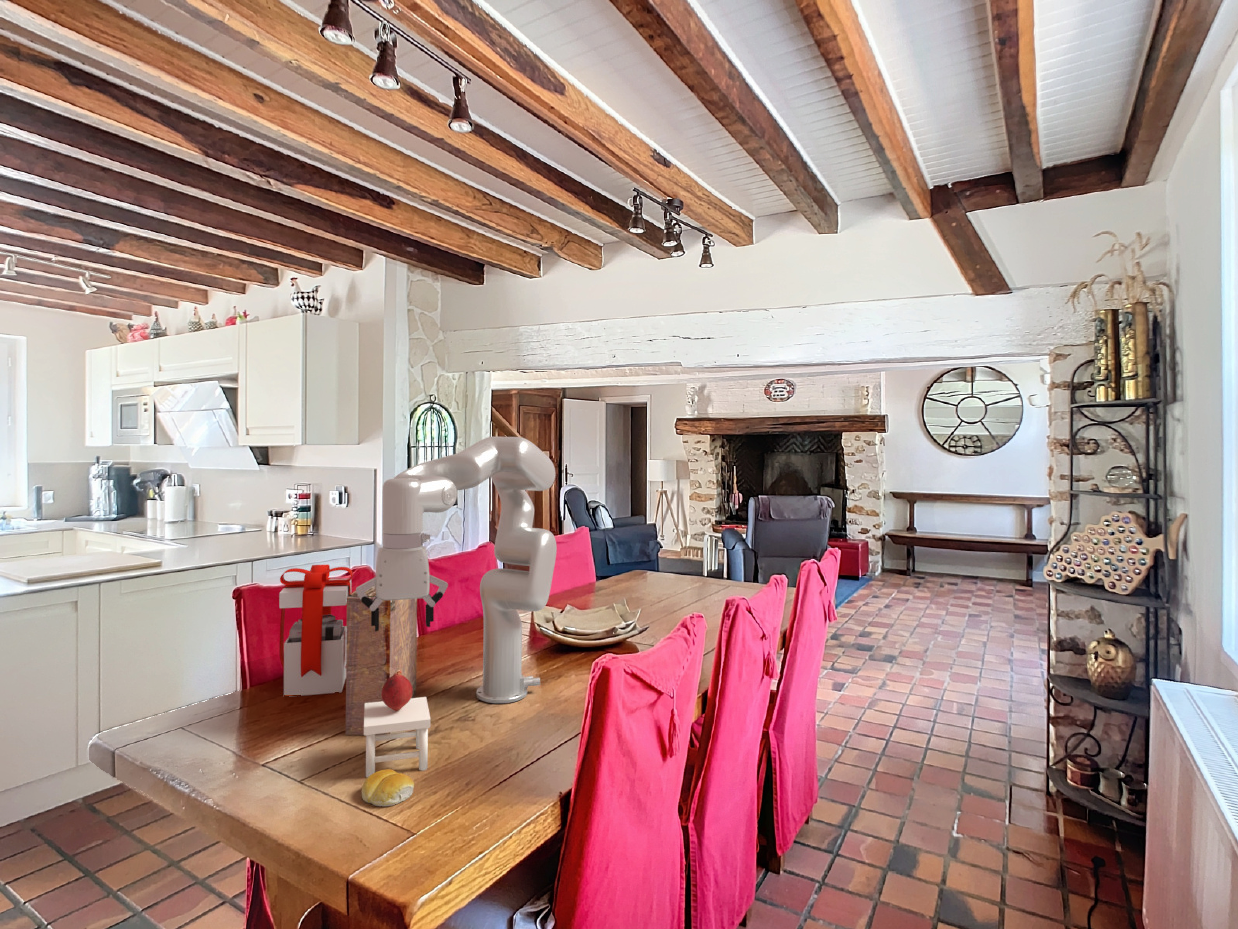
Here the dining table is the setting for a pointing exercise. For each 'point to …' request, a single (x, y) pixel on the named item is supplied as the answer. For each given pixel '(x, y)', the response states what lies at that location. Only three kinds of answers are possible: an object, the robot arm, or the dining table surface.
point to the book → (377, 653)
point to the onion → (397, 691)
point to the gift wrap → (314, 632)
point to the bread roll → (387, 788)
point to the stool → (389, 720)
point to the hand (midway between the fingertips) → (402, 627)
